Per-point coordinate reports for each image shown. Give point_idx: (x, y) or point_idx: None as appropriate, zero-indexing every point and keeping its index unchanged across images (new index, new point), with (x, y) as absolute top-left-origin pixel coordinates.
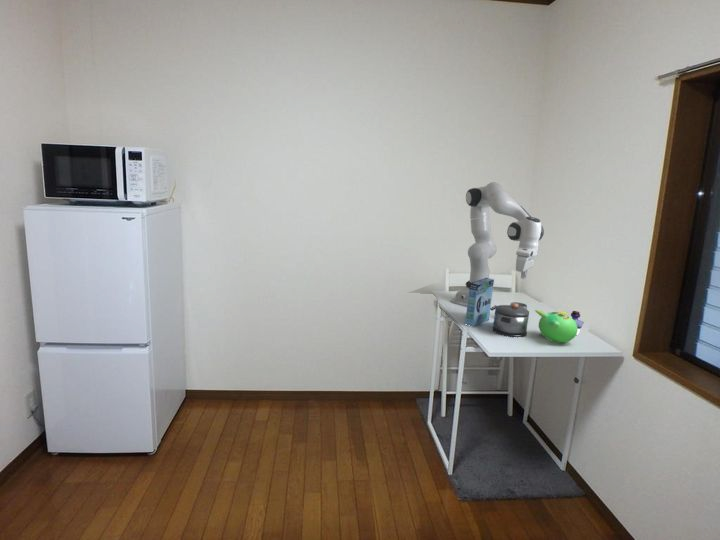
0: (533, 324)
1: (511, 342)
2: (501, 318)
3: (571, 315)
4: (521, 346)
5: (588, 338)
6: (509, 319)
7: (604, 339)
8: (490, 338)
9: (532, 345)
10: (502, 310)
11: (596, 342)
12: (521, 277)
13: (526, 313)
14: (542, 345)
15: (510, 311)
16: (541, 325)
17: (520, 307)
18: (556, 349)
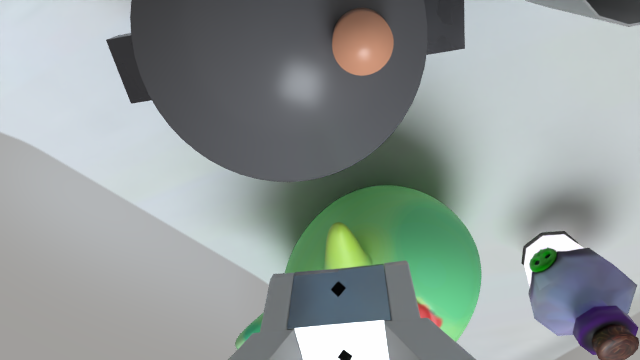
0: (587, 56)
1: (143, 115)
2: (109, 42)
3: (588, 315)
4: (142, 170)
5: (526, 310)
6: (136, 100)
7: (563, 348)
8: (79, 5)
9: (205, 196)
10: (164, 6)
11: (491, 338)
12: (275, 290)
13: (276, 176)
14: (249, 223)
15: (206, 71)
16: (311, 230)
17: (418, 67)
18: (256, 272)
